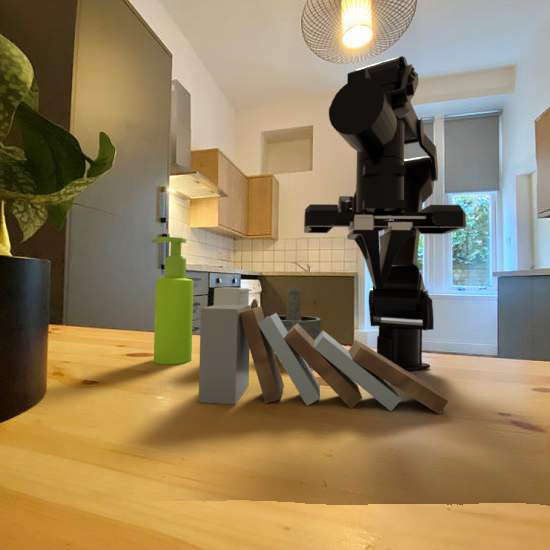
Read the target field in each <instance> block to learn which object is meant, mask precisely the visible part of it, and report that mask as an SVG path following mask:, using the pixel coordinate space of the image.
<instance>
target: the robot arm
mask: <svg viewBox="0 0 550 550" xmlns="http://www.w3.org/2000/svg"><path fill="white" fill-rule="evenodd" d="M407 61H408V60H407V58H406V57H405V56H404V55H401V56H398V57H395V58H394V57H393V58H392V59H387V60H385V61H384V60H383V61H381V62H378V63H375V64H371V65H368V66H364V67H361V68H357V69H355V70H354V71H350V72H348V73H347V75H346V76H347V81H346V82H347V83H346V84H344V85H343V86H342V87H341V88H340V89H339V90H338V91H337V92H336V94H335V96H334V97H333V99H332V100H331V104H330V106H329V107H328V119H329V122H330V124H331V126H332V127H333V129H334V130H335V131H336V132H337V133H338V135H340V136H341V137H342V139H343V140H344V141H345V142H346V143H347V144H348V145H349V147H351V149H354V150H355V151H356V177H355V178H356V184H355V191H354V193H353V196H352V195H341V196H339V197H338V204H329V203H328V204H326V203H325V204H320V203H319V204H316V203H315V204H313V203H312V204H309V205H308V206H307V207H306V208H305V209H304V215H303V225H304V226H303V233H306V234H328V233H329V232H330V231H331V230H333V228H347V230H348V231H349V233H348V234H347V235H346V237H347V240H350V241H354V242H355V244H356V245H357V246H358V248H359V250H360V252H361V255H363V258H364V260H365V263H366V267H367V270H368V273H369V276H370V279H371V282H372V288H370V290H369V293H368V311H369V321H370V327H378V335H377V337H376V352H377V353H378V354H380V355H382V356H383V357H385V358H387V359H388V360H390V361H391V362H393V363H395V364H396V365H398V366H400V367H401V368H403V369H404V370H406V371H408V372H409V371H415V370H423V369H430V367H431V365H430V364H429V363H425V362H423V331H425V332H426V331H428V330H429V331H433V330H434V324H435V323H434V321H435V320H434V318H435V317H434V316H435V315H434V306H433V305H434V304H433V299H432V298H431V297H430V295H429V290H428V289H426V287H425V282H424V278H423V275H422V273H421V272H420V268H419V267H418V265H417V264H418V256H419V255H418V254H419V245H420V235H446V234H450V233H454V232H457V231H460V230H462V229H465V228H466V227H467V226H466V225H467V220H466V219H467V217H466V216H467V214H466V212H465V210H464V209H463V208H462V206H461V205H460V204H430V205H428V206H426V207H423V204H424V203H425V202H426V201H427V200H428V198H430V197H431V195H433V193H434V186H435V182H436V181H437V182H438V181H439V180H438V179H439V166H438V155H437V154H438V152H437V146H436V145H435V144H434V143H433V141H432V140H431V139H430V138H429V137H428V136H427V135H426V134H425V128H424V120H423V118H419V117H418V115H417V113H416V111H415V109H414V107H413V104H412V103H411V102H412V101H411V100H412V98H413V97H414V96H415V93H416V92H417V88H418V86H419V75H418V73H417V72H416V71H415V67H413V64H412V63H411V64H408V62H407ZM411 144H418V145H419V147H420V149H422V150H423V151H424V152H425V153H426V155H427V156H420V157H413V158H407V159H405V146H406V145H411ZM382 231H383V234H381V235H380V232H382ZM385 319H386V320H385ZM387 319H390V320H387ZM391 319H394V320H391ZM395 319H398V320H395ZM401 320H412V321H401ZM415 320H416V322H415ZM417 321H418V322H417ZM419 321H422V322H419Z"/></svg>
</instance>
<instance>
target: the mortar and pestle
mask: <svg viewBox="0 0 550 550" xmlns="http://www.w3.org/2000/svg"><path fill="white" fill-rule="evenodd" d="M287 296H288V298H287V299H288V300H287V307H286V315H278V317H279V318H280V320H281V322H282V323H283V325H284V327H285V328H286V330H287V331H289V330H290V329H291V328H292V327H294V326H295V325H296V324H297V323H298V324H299V325H300V326H301V327H302V328H303V329H304V330H305V331H306V332H307V333H308V334H309V335H310V336H311V337H312V338H313V340H315V339H316V338H317V337H318V336H319V334H320V333H321V323H322V322H321V321H322V319H321V318H320V317H315V316H308V315H307V316H305V315H302V306H301V305H302V304H301V303H302V301H301V298H302V297H303V291H302V290H301V289H299V288H296V287H295V288H294V287H293V288H290V289H288V290H287ZM270 316H271V315H270ZM270 316H269V315H268V316H266V317H264V318H265V319H266V318H268V317H270ZM275 356H276V359H277V361H280V360H279V359H278V357H277V355H276V354H275Z"/></svg>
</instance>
